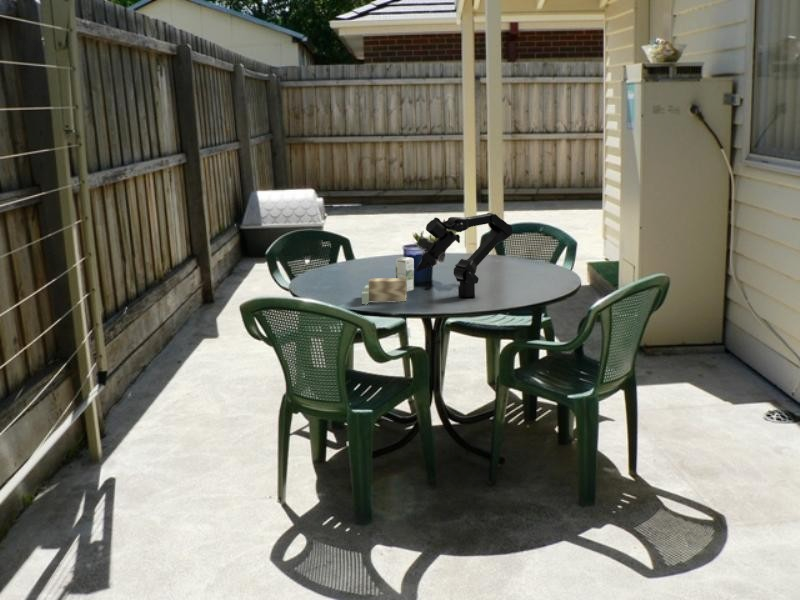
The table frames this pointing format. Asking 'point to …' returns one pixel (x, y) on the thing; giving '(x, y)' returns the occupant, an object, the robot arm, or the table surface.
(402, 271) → the syrup box
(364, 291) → the sage batten
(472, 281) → the robot arm
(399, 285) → the beech block
